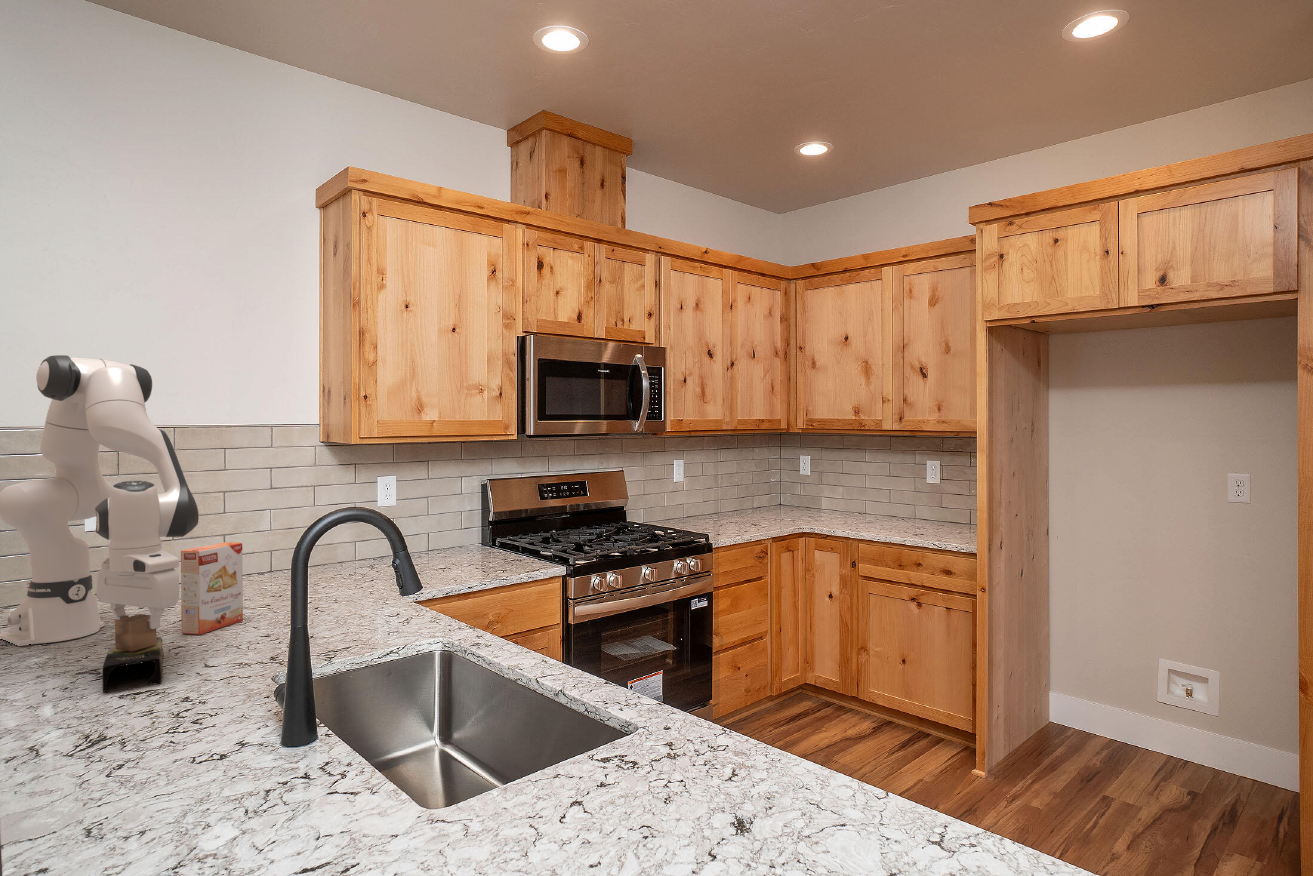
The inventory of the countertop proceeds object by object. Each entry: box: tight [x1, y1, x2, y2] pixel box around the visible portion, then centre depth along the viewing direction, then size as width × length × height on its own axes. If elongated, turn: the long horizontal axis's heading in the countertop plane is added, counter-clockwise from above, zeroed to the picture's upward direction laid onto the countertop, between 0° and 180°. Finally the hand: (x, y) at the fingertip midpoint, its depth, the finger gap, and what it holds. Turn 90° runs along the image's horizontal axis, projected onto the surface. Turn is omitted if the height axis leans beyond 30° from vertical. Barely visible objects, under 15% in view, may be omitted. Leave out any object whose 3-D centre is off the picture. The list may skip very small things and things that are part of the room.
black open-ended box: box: [101, 636, 165, 694], centre depth 147 cm, size 20×10×6 cm, turn 34°
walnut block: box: [114, 613, 157, 652], centre depth 149 cm, size 5×5×6 cm
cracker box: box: [180, 541, 244, 636], centre depth 183 cm, size 14×6×21 cm, turn 168°
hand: (137, 626), depth 149 cm, fingers open, 8 cm apart
